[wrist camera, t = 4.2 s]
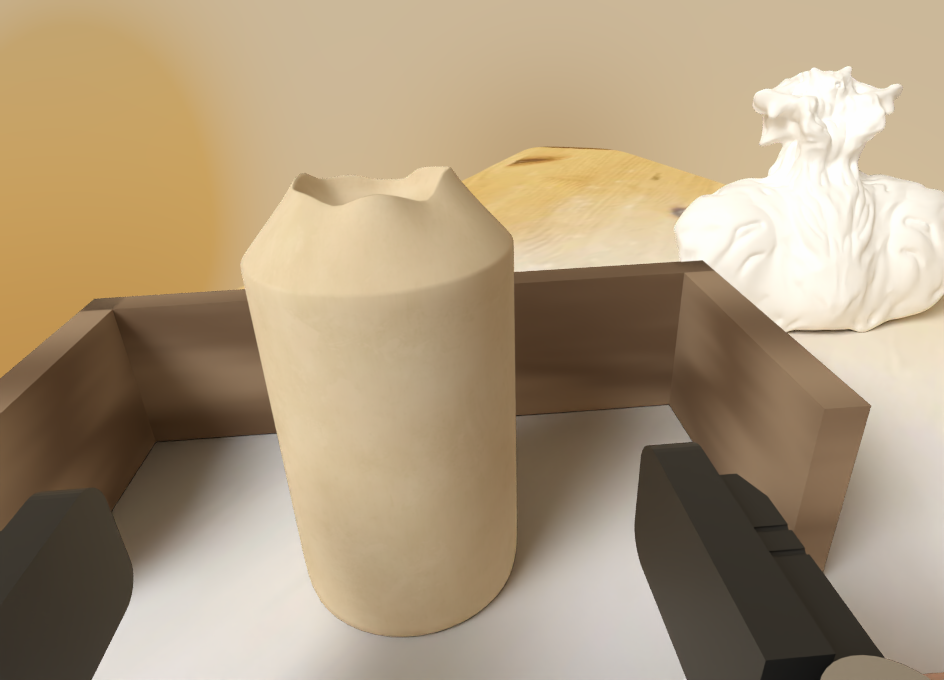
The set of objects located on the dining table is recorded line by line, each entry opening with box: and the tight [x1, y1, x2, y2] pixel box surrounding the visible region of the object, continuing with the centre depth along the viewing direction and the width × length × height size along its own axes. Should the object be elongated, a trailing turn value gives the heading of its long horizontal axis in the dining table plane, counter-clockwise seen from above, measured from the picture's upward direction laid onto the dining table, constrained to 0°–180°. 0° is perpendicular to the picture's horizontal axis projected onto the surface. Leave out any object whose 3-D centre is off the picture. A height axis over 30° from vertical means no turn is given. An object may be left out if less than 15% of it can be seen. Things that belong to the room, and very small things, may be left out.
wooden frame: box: [0, 260, 871, 572], centre depth 18 cm, size 9×20×5 cm, turn 94°
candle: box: [241, 167, 517, 637], centre depth 15 cm, size 6×6×10 cm
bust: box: [674, 66, 944, 332], centre depth 28 cm, size 12×8×11 cm
